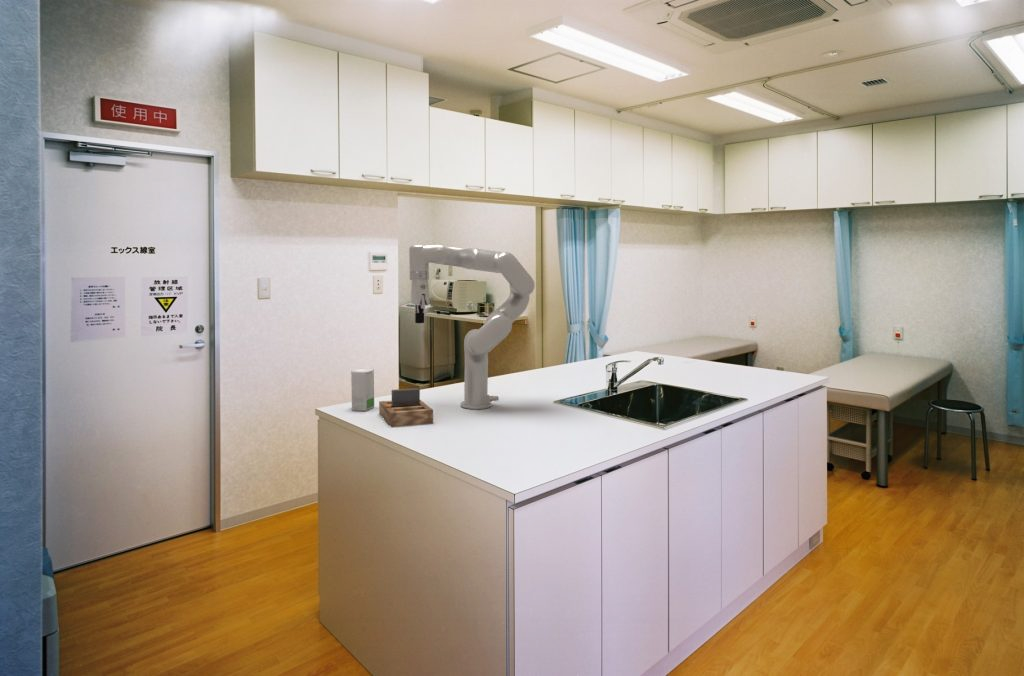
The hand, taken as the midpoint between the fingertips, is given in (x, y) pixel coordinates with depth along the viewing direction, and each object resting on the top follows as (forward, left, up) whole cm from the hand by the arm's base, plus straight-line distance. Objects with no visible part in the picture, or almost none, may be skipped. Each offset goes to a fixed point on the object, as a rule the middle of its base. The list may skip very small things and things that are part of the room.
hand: (419, 322), depth 243 cm
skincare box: (+22, -5, -35) cm, 41 cm away
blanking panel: (+10, +16, -32) cm, 37 cm away
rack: (+10, +16, -34) cm, 39 cm away
